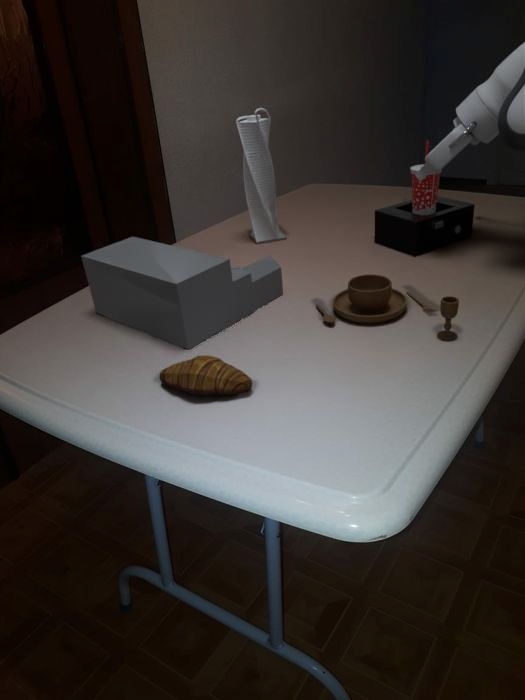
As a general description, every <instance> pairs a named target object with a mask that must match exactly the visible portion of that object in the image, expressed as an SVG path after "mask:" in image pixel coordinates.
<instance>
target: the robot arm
mask: <svg viewBox="0 0 525 700" xmlns="http://www.w3.org/2000/svg"><path fill="white" fill-rule="evenodd" d="M455 113H456V115H457V116H456V117H455V118H454V119H453V121H452V122H453V125H454V128H453V129H452V130H451V131H450V132H449V133H448V134H447V135H446V136H445V137H444V138H443V139H442V140H441V141H440V142H439V143H438V144H437V145H436V146H435V147H434V148H433V149H431V151H430V152H428V155H427V156H426V157H425V156H424V163H423V164H424V165H423V167H422V168H421V169H420V170H419V171H418V172H417V173H416V174H415V176H416V177H417V178H418V179H419V180H420V181H421V180H423V179H424V178H425V177H426V176H427V175H428V174H430V173H431V172H432V171H435V172H439V171H440V170H441V169H442V170H443V169H444V168H445V167H446V166H447V165H448V164H449V163H450V162H452V160H453V159H455V157H457V155H459V154H460V153H461V152H462V151H463V150H464V149H465V148H466V147H467V146H468V145H469V144H471V145H473V146H477V145H478V144H479V143H484V144H489V143H491V142H492V141H493V140H494V139H495V138H496V137H497V136H498V135H499V136H500V139H501V140H502V141H503V142H504V143H505V144H506V145H507V146H508V147H509V148H511V149H513V150H515V151H518V152H525V41H523V43H522V44H520V45H519V46H517V48H516V49H514V50H513V51H512V52H511V53H510V54H509V55H508V56H507V57H506V58H504V60H502V62H500V64H499V65H498V66H497V67H495V69H494V71H493V72H492V74H491V75H490V77H489V78H488V79H486V80H485V81H484V82H483V83H481V84H480V85H478V86H476V88H474V90H473V91H472V92H470V94H468V96H467V97H465V99H464V100H463V101H462V102H461V103H460V104H459V105H458V106H457V107H456V108H455ZM425 161H426V163H425Z"/></svg>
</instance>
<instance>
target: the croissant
mask: <svg viewBox="0 0 525 700" xmlns="http://www.w3.org/2000/svg"><path fill="white" fill-rule="evenodd" d="M159 380H160V382H161V383H162V384H164V385H165V386H167V387H169V388H172V389H174V390H177V391H183V392H185V393H188V394H192V395H197V396H235V395H243V394H248V393H250V392H251V391H252V388H253V380H252V378H251V377H250V376H248V375H247V374H246V373H245V372H244V371H242V370H240V369H239V368H237V367H236V366H234V365H232V364H229V363H227V362H225V361H224V360H222V359H221V358H220V357H217V356H212V355H209V354H208V355H197V356H196V357H192V358H191V359H186V360H182V361H179V362H176V363H173V364H171V365H169V366H167V367H165V368H164V369H162V370H160V372H159Z"/></svg>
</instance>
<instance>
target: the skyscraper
mask: <svg viewBox="0 0 525 700" xmlns="http://www.w3.org/2000/svg"><path fill="white" fill-rule="evenodd" d="M253 112H254V114H251V115H242V116H239V117H237V118H236V120H235V123H236V127H237V131H238V135H239V138H240V143H241V145H242V150H243V157H242V158H243V159H242V172H243V175H242V176H243V185H244V194H245V198H246V199H245V200H246V205H247V210H248V214H249V215H248V216H249V219H250V223H251V227H252V230H251V233H249V235H250V238H252V240H253V241H254V242H255V244H256V245H260V244H266V243H270V242H271V243H272V242H277V241H282V240H287V236H286V235H285V234H284V233H283V232H282V231H281V230H280V226H279V214H278V209H277V208H278V207H277V193H276V192H277V190H276V189H277V188H276V177H275V169H274V164H273V159H272V154H271V152H270V149H269V141H270V133H271V132H270V130H271V123H272V122H271V121H272V117H271V115H270V113H269V112H268V110H267V109H266V108H263V107H258V108H256V109H255V111H253ZM258 112H264V113H266V115H267V118H266V117H265V118H261V114H258Z"/></svg>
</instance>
